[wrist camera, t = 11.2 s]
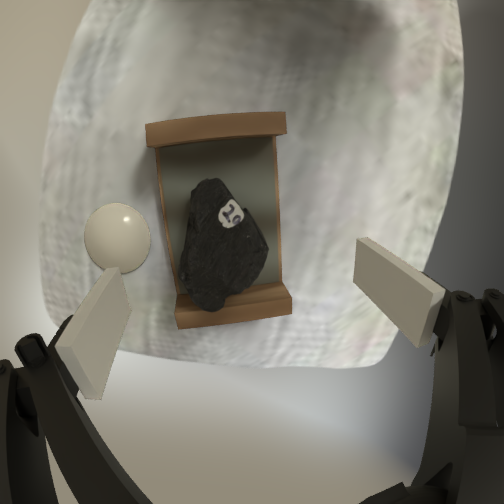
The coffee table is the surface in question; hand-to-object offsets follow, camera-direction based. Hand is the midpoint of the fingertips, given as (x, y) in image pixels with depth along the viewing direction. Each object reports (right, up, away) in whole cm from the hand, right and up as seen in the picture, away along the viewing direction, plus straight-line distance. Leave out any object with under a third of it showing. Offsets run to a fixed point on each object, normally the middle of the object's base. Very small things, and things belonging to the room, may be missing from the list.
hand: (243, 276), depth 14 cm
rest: (-3, +5, +15) cm, 16 cm away
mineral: (-3, +3, +14) cm, 15 cm away
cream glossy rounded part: (-15, +3, +14) cm, 20 cm away
